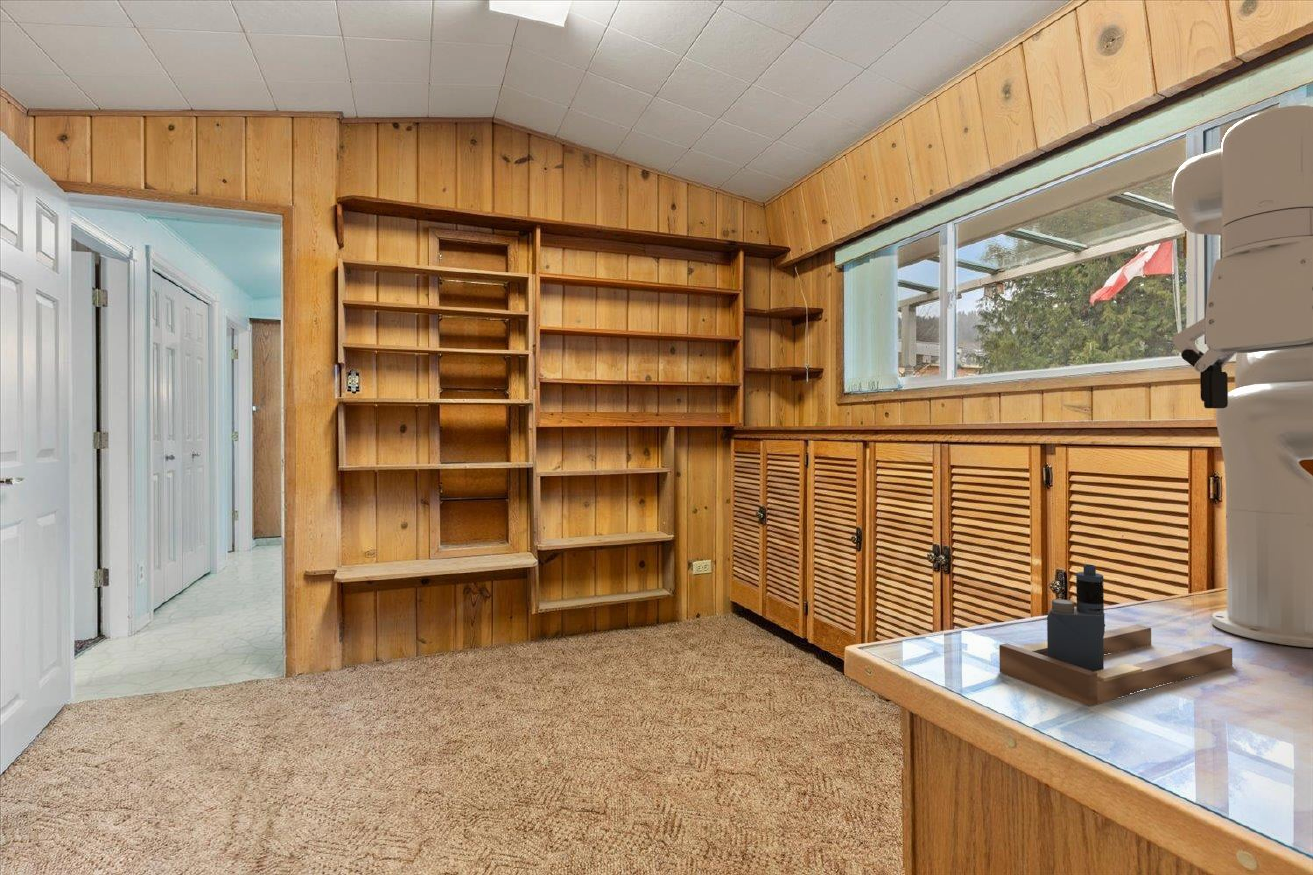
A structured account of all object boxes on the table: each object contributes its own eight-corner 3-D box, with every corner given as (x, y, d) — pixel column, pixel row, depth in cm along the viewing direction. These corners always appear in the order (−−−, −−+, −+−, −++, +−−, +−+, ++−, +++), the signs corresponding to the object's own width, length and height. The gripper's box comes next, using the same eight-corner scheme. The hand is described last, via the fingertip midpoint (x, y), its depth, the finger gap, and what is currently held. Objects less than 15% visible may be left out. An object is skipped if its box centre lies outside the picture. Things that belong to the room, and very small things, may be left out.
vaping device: (1110, 685, 65) (1109, 568, 65) (1054, 682, 66) (1052, 567, 66) (1098, 676, 67) (1096, 563, 67) (1043, 673, 68) (1042, 562, 68)
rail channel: (1137, 640, 78) (1137, 616, 78) (1232, 666, 69) (1232, 638, 69) (999, 672, 69) (999, 644, 69) (1089, 706, 60) (1089, 674, 60)
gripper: (1414, 215, 58) (1415, 402, 58) (1193, 263, 74) (1194, 409, 74) (1376, 205, 55) (1377, 401, 55) (1154, 257, 71) (1155, 409, 71)
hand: (1272, 406), depth 65 cm, fingers open, 9 cm apart
